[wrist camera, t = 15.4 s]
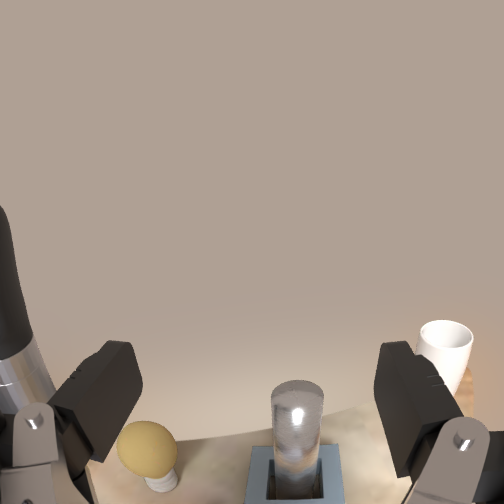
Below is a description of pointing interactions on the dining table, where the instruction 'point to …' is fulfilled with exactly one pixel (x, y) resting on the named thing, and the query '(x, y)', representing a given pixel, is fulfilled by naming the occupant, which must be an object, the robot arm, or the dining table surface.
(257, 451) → the blue square frame
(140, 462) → the light bulb
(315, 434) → the steel pin
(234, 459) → the dining table surface
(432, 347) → the drinking glass
